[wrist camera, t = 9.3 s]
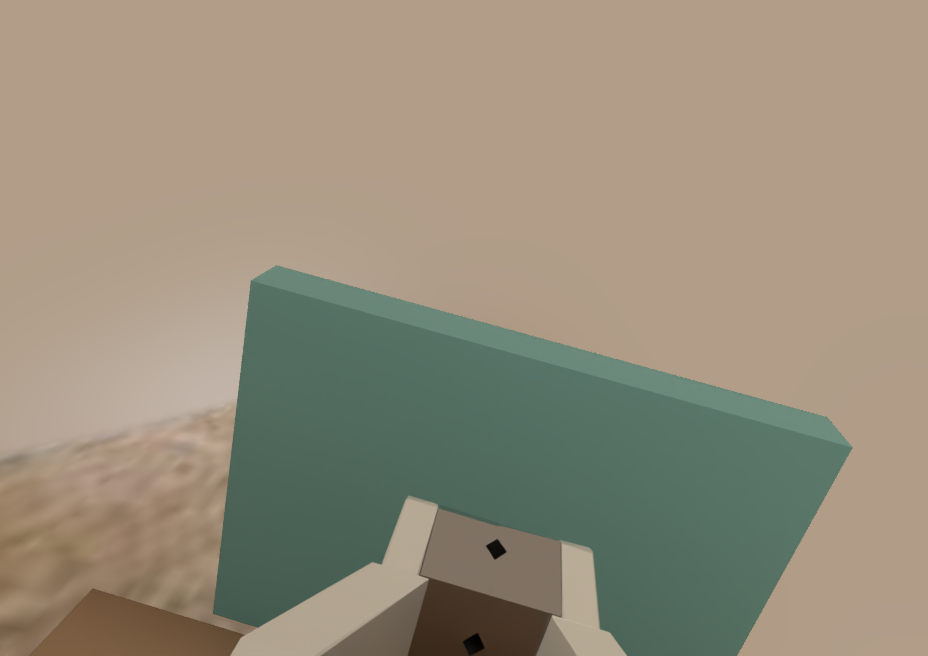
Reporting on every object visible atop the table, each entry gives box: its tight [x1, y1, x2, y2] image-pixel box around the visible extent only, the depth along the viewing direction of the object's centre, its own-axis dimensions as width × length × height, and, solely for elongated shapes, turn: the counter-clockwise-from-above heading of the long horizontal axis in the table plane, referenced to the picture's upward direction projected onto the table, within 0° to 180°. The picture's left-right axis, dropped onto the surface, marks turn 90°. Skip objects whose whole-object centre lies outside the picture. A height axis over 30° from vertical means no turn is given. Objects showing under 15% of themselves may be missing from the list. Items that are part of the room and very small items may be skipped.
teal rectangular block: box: [213, 266, 852, 656], centre depth 14 cm, size 1×12×9 cm, turn 82°
